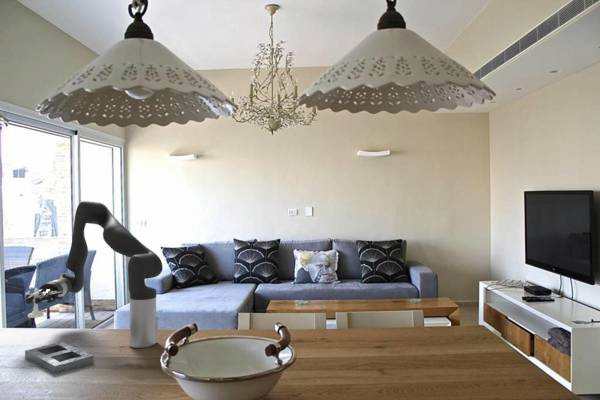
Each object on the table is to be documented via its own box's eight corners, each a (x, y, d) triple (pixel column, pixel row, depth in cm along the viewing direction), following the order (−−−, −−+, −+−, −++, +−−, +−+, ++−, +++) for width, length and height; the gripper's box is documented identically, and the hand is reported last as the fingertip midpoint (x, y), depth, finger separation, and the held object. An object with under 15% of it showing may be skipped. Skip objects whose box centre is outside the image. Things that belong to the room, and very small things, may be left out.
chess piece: (46, 314, 159) (47, 286, 159) (37, 318, 154) (37, 289, 154) (34, 313, 159) (34, 286, 159) (24, 317, 154) (24, 288, 154)
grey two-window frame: (62, 348, 157) (62, 341, 157) (93, 363, 143) (93, 355, 143) (24, 357, 147) (25, 350, 147) (54, 374, 134) (55, 366, 134)
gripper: (34, 281, 170) (10, 290, 152) (72, 280, 171) (53, 289, 154) (34, 300, 170) (10, 312, 152) (72, 300, 171) (53, 311, 154)
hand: (32, 300), depth 153 cm, fingers closed on chess piece
